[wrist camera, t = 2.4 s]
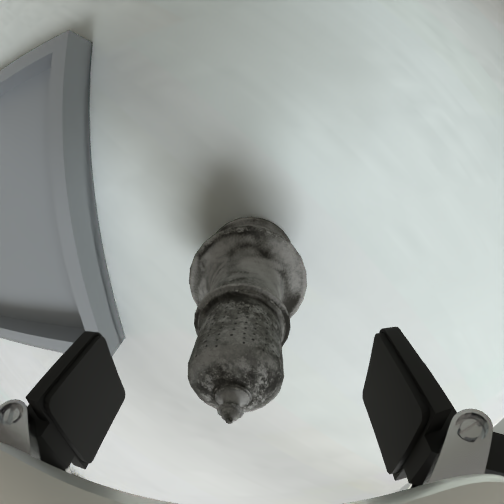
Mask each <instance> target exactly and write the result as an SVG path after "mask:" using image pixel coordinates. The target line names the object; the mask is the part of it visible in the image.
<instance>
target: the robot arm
mask: <svg viewBox="0 0 504 504" xmlns="http://www.w3.org/2000/svg"><path fill="white" fill-rule="evenodd" d="M26 399H27V401H28V402H29V405H28V407H27V406H26V405H25V403H24V402H22V401H21V400H16V399H15V400H9V401H7V402H5V403H3V404H2V405H1V406H0V504H176V503H171V502H165V501H160V500H155V499H151V498H146V497H142V496H138V495H134V494H130V493H126V492H123V491H119V490H116V489H112V488H109V487H106V486H103V485H100V484H97V483H94V482H91V481H88V480H86V479H83V478H80V477H78V476H75V475H73V474H72V473H71V470H70V466H69V465H70V463H71V462H72V463H73V465H75V466H78V467H81V468H83V469H86V467H87V465H88V463H91V462H92V461H93V459H94V457H95V455H96V453H97V451H98V449H99V447H100V445H101V443H102V441H103V439H104V438H105V436H106V434H107V432H108V430H109V428H110V426H111V424H112V422H113V420H114V418H115V416H116V414H117V412H118V411H119V409H120V407H121V405H122V403H123V401H124V399H125V390H124V388H123V385H122V383H121V380H120V378H119V375H118V373H117V370H116V367H115V365H114V362H113V359H112V356H111V354H110V351H109V348H108V345H107V342H106V339H105V338H104V337H103V336H102V335H101V334H100V333H99V332H92V331H85V332H83V333H82V335H81V336H80V337H79V338H78V339H77V340H76V341H75V342H74V343H73V344H72V345H71V346H70V347H69V348H68V350H67V351H66V352H65V353H64V354H63V355H62V356H61V357H60V358H59V359H58V360H57V362H56V363H55V364H54V365H53V366H52V367H51V368H50V369H49V371H48V372H47V373H46V374H45V375H44V376H43V377H42V379H41V380H40V381H39V382H38V383H37V384H36V386H35V387H34V388H33V389H32V390H31V391H30V393H29V394H28V395H27V396H26ZM363 401H364V404H365V407H366V409H367V412H368V415H369V418H370V421H371V424H372V427H373V430H374V432H375V435H376V438H377V441H378V444H379V447H380V450H381V453H382V457H383V460H384V463H385V466H386V469H387V472H388V473H389V474H393V476H394V479H395V481H396V480H399V479H403V478H406V477H407V479H408V482H409V483H410V485H409V487H408V489H407V490H403V491H399V492H396V493H392V494H388V495H384V496H380V497H375V498H371V499H366V500H361V501H356V502H350V503H344V504H504V435H503V434H499V433H495V432H493V425H492V422H491V420H490V418H489V417H488V416H487V415H486V414H485V413H483V412H482V411H479V410H476V409H465V410H462V411H460V412H458V413H457V412H456V410H455V409H454V407H453V406H452V404H451V402H450V401H449V399H448V398H447V396H446V395H445V393H444V391H443V390H442V388H441V387H440V385H439V384H438V382H437V381H436V379H435V378H434V376H433V375H432V373H431V372H430V370H429V369H428V368H427V366H426V365H425V363H424V362H423V361H422V360H421V358H420V357H419V355H418V354H417V353H416V351H415V350H414V348H413V347H412V346H411V344H410V343H409V341H408V340H407V339H406V337H405V336H404V334H403V333H402V332H401V330H400V329H399V328H398V327H391V328H383V329H381V330H380V332H379V333H377V334H376V335H375V337H374V343H373V348H372V353H371V358H370V363H369V367H368V372H367V376H366V381H365V385H364V389H363Z"/></svg>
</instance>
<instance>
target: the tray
mask: <svg viewBox="0 0 504 504" xmlns="http://www.w3.org/2000/svg"><path fill="white" fill-rule="evenodd" d="M91 52H92V42H90V41H89V40H87V39H85V38H83V37H81V36H79V35H77V34H75V33H74V32H72V31H70V30H68V31H66V32H64V33H62V34H60V35H58V36H56V37H54V38H52V39H50V40H49V41H47V42H45V43H43V44H41V45H40V46H38V47H36V48H34V49H33V50H31V51H29V52H28V53H26V54H24V55H23V56H21V57H20V58H18V59H17V60H15V61H13V62H12V63H10V64H9V65H8V66H6V67H5V68H3V69H2V70H0V338H3V339H7V340H10V341H14V342H18V343H22V344H26V345H30V346H34V347H38V348H42V349H47V350H51V351H56V352H61V353H65V352H66V351H67V350H68V348H69V347H70V346H71V345H72V344H73V343H74V342H75V341H76V340H77V339H78V338H79V337H80V336H81V335H82V333H83V332H85V331H92V332H99V333H100V334H101V335H102V336H103V337H104V338H105V339H106V342H107V345H108V348H109V351H110V354H111V356H113V354H114V353H115V352H116V350H117V349H118V347H119V346H120V344H121V343H122V341H123V340H124V339H125V335H124V332H123V329H122V325H121V322H120V318H119V315H118V311H117V308H116V304H115V300H114V296H113V292H112V288H111V284H110V280H109V275H108V271H107V266H106V261H105V257H104V252H103V246H102V241H101V235H100V229H99V223H98V217H97V210H96V202H95V194H94V186H93V176H92V165H91V151H90V129H89V85H90V65H91Z"/></svg>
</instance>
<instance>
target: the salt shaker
mask: <svg viewBox="0 0 504 504" xmlns="http://www.w3.org/2000/svg"><path fill="white" fill-rule="evenodd" d="M189 284H190V288H191V293H192V296H193V298H194V300H195V302H196V304H197V306H198V307H197V310H196V312H195V319H194V325H195V329H196V333H197V335H198V337H197V340H196V342H195V345H194V348H193V351H192V354H191V357H190V360H189V362H188V379H189V382H190V385H191V387H192V388H193V390H194V391H195V393H196V394H197V395H198V397H199V398H200V399H201V400H203V401H204V402H205V403H206V404H208V405H210V406H212V407H214V408H216V409H217V411H218V414H219V415H220V416H222V419H224V420H225V421H226V423H228V424H231V423H232V422H233V421H236V420H237V419H238V418H240V417H242V415H243V414H244V412H249V411H254V410H257V409H259V408H262V407H263V406H265V405H266V404H268V403H269V402H270V401H271V400H273V399H274V398H275V397H276V395H277V394H278V393H279V391H280V389H281V385H282V382H283V378H284V372H283V358H282V346H283V345H284V343H285V342H286V340H287V338H288V335H289V331H290V318H291V317H292V316H293V315H294V314H295V313H296V312H297V310H298V308H299V306H300V305H301V303H302V301H303V299H304V295H305V291H306V287H307V279H306V270H305V267H304V264H303V261H302V258H301V256H300V255H299V253H298V252H297V251H296V249H295V248H294V246H293V245H292V244H291V243H290V240H289V239H288V237H287V236H286V234H285V233H284V232H283V231H282V230H281V229H280V228H279V227H277V226H276V225H275V224H274V223H271V222H269V221H267V220H264V219H260V218H254V217H248V218H239V219H237V220H234V221H231V222H229V223H227V224H226V225H225V226H223V227H222V228H221V229H219V231H218V232H217V233H216V234H215V235H213V236H212V237H211V238H209V239H208V240H207V241H205V242H204V243H203V245H202V246H201V247H200V249H199V250H198V251H197V253H196V254H195V256H194V259H193V262H192V264H191V267H190V277H189Z"/></svg>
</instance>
